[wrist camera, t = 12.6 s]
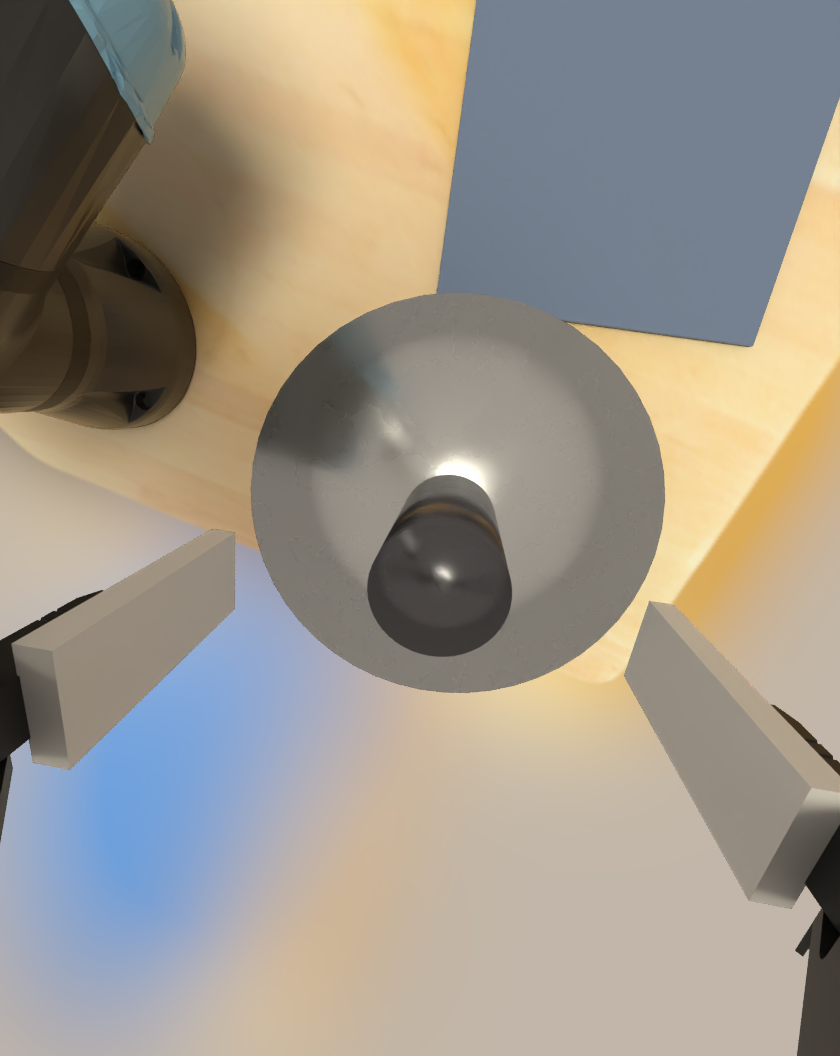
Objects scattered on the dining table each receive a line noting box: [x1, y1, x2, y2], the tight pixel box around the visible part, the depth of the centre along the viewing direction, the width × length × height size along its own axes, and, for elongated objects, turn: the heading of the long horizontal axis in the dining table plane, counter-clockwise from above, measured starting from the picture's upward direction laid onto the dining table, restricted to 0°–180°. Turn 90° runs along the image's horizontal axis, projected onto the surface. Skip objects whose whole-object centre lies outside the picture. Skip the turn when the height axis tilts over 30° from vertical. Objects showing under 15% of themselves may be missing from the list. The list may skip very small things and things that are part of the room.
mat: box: [437, 0, 840, 347], centre depth 29 cm, size 23×23×1 cm
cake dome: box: [251, 293, 665, 693], centre depth 26 cm, size 22×22×23 cm
